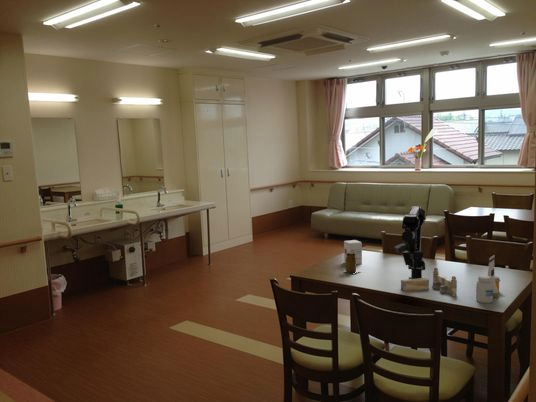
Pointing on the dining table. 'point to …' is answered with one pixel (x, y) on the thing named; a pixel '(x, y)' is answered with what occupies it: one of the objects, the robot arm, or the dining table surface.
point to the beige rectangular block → (414, 284)
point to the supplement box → (353, 250)
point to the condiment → (350, 263)
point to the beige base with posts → (444, 283)
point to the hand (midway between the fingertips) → (410, 267)
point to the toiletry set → (487, 285)
